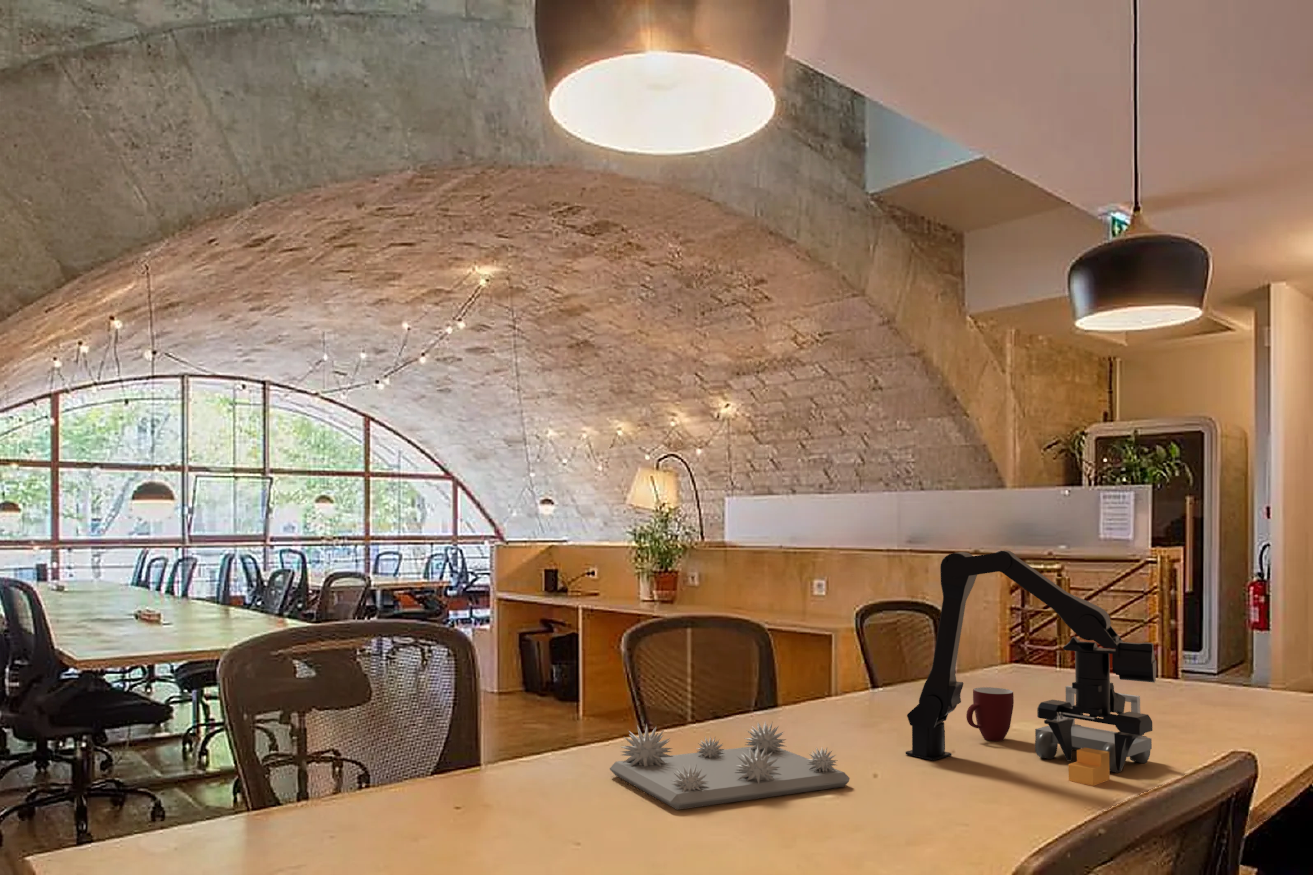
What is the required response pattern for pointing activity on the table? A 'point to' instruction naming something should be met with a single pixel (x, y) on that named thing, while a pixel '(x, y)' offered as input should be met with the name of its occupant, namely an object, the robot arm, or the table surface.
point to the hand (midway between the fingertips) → (1093, 765)
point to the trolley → (1093, 737)
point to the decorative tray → (724, 770)
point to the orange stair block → (1090, 767)
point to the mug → (991, 712)
